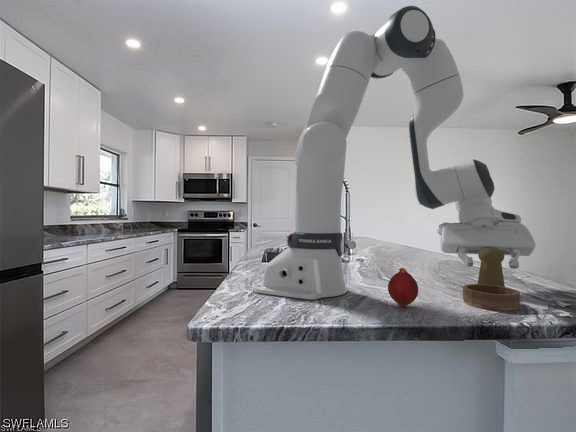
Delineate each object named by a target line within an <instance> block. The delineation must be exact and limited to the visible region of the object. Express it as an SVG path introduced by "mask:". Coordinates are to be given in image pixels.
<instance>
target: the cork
mask: <svg viewBox="0 0 576 432" xmlns="http://www.w3.org/2000/svg"><path fill="white" fill-rule="evenodd" d="M477 255H478V259H479V260H480V265H479V266H480V267H479V272H478V278H477V284H486V285H496V286H502V287H506V285H505V280H504V273H503V265H502V262H503V261H504V259H505V255H504V252H503V251H502V250H501V249H498V248H490V247H488V248H482V249H480V251H479V253H478V254H477Z"/></svg>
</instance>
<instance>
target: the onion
mask: <svg viewBox="0 0 576 432" xmlns="http://www.w3.org/2000/svg"><path fill="white" fill-rule="evenodd" d="M398 270H399V271H398V272H396V273H395V274H393V275H392V276H391V278H390V279H389V280H388V284H387V291H388V295H389V296H390V298H391V300H393V301H394V302H395V303H396V304H397V305H398V306H399V307H400V308H406V307H407V306H409V305H410V304H412V303H413V302H415V300H416V299H417V298H418V296H419V286H418V282H417V281H416V279H415V278H414V277H413V276H412V274H410V273H409V272H408V271H407V270H406V268H404V267H401V268H398Z"/></svg>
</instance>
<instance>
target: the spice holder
mask: <svg viewBox="0 0 576 432" xmlns="http://www.w3.org/2000/svg"><path fill="white" fill-rule="evenodd" d="M520 293H521V292H520V291H518V290H517V289H513V288H511V287H506V286H505V287H502V286H496V285H486V284H478V283H469V284H468V283H467V284H464V285H463V286H462V301H463V303H464V302H465V303H464V304H466V303H467V304H466V305H468V304H469V305H468V306H471V305H472V306H471V307H474V306H475V307H474V308H477V309H482V310H488V311H496V312H497V311H499V312H513V311H517V310H520V305H521V304H520V303H521V299H520V298H521V296H520V295H521V294H520Z"/></svg>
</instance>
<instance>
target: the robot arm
mask: <svg viewBox="0 0 576 432" xmlns="http://www.w3.org/2000/svg"><path fill="white" fill-rule="evenodd" d="M400 69H401V71H403V72H404V73H405V75H407V76H408V79H409V81H410V84H411V88H412V92H413V94H414V95H413V96H414V99H415V109H414V110H415V111H414V112H413V115H412V116H411V117H410V118H409V121H408V133H409V142H410V150H411V159H412V164H413V165H412V166H413V173H414V192H415V197H416V200H417V202H418V203H419V205H421V206H423V207H425V208H427V209H430V210H435V209H437V208H440V207H444V206H446V205H448V204H453V203H454V205H455V208H456V211H457V212H458V221H459V222H442V223H441V224H439V225H437V233H438V235H439V236H440V250H441V251H442V252H443V253H444V254H456V255H457V257H458V258H459V259H460V260H461V261H462V262H463V263H464V267H471V268H472V267H473V265H474V259H473V257H472V256H471V257H470V256H469V255H478V253H479V251H480V249H482V248H488V247H490V248H498V249H501V250H502V251H503V252H504V256H510V258H509V260H508V262H507V265H508V266H509V269H512V270H518V269H519V267H520V263H519V260H518V259H519V258H520V257H522V256H523V257H529V256H530V255H532V253H533V252H534V251H535V249H536V241H535V239H534V237H533V236H532V234H531V232H530V229H529V228H528V227H527V226H525V225H524V224H523V223H522V217H521V215H518V214H515V213H511V212H505V211H503V210H502V211H501V210H498V209H495V208H494V206H493V205H492V203H493V201H492V196H493V194H494V191H495V184H494V181H493V179H492V177H491V174H490V173H491V172H490V171H489V168H488V166H487V164H486V163H484V162H483V161H480V160H478V159H469V160H465V161H462V162H460V163H456V164H454V165H450V166H447V167H444V168H440V169H438V170H437V169H436V170H431V169H430V162H429V153H428V145H427V144H428V138H429V137H430V136H431V134H432V133H433V131H434V130H436V129H437V128H438V127H440V125H442V124H443V123H444V122H445V121H447V120H448V119H450V117H451V116H452V115H454V113H455V112H456V111H457V110H458V109H459V107H460V106H461V104H462V102H463V100H464V99H463V98H464V88H463V83H462V79H461V76H460V72H459V69H458V66H457V64H456V61H455V59H454V56H453V55H452V53H451V51H450V49H449V46H448V45H447V44H446V42H445V41H444V40H442V39H440V38H436V31H435V29H434V26H433V22H432V20H431V19H430V17H429V16H428V14H427V13H426V12H425V11H424V10H423V9H421V8H420V7H418V6H416V5H407V6H404V7H401V8H400V9H398V10H397V11H395V12H394V13H393V14H391V15H390V16H389V18H387V20H386V21H385V22H384V23H383V24H382V25H381V26H380V27H378V28H377V30H376V31H375V32H374V33H373V34H371V35H369V34H368V33H366V32H364V31H359V30H353V31H349V32H347V33H345V34H344V35H343V36H341V38H340V40H339V41H338V43H337V44H336V46H335V48H334V50H333V52H332V53H331V55H330V58H329V59H328V63H327V65H326V67H325V69H324V72H323V75H322V78H321V79H320V80H321V81H320V83H319V87H318V89H317V91H316V94H315V97H314V99H313V103H312V105H311V108H310V111H309V114H308V117H307V119H306V121H305V125H304V126H303V130H302V132H301V134H300V137H299V139H298V141H297V146H296V149H295V152H294V162H295V165H296V179H295V180H296V181H295V182H296V184H295V214H294V215H295V220H294V221H295V229H294V230H295V231H294V232H293V233H290V234H289V235H288V236H286V242H287V244H286V245H287V248H285V249H284V250H283V251H281V252H280V253H279V254H277V255H276V256H275V257H274V258H273V259H272V260H270V261H269V262H268V263H267V264H266V266H265V269H264V273H263V279H262V280H261V281H258V282H257V283H256V284H255V285H254V288H253V291H254V292H255V293H257V294H263V295H264V294H265V295H271V296H278V297H279V296H280V297H285V298H286V297H287V298H295V299H303V300H318V299H322V298H331V297H338V296H341V295H344V294H346V293H347V292H348V288H347V286H346V281H345V276H344V269H343V261H342V260H343V258H342V256H343V253H344V238H343V232H341V231H342V228H341V227H342V225H341V224H342V220H341V219H342V194H343V186H344V178H345V167H346V155H347V154H346V152H347V138H348V136H349V134H350V133H349V132H350V131H351V129H352V126H353V124H354V122H355V120H356V118H357V115H358V112H359V110H360V107H361V105H362V102H363V99H364V97H365V93H366V92H367V88H368V85H369V83H370V81H371V78H372V79H384V78H387V77H389V76H391V75H393V73H395V72H397V71H398V70H400Z"/></svg>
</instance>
